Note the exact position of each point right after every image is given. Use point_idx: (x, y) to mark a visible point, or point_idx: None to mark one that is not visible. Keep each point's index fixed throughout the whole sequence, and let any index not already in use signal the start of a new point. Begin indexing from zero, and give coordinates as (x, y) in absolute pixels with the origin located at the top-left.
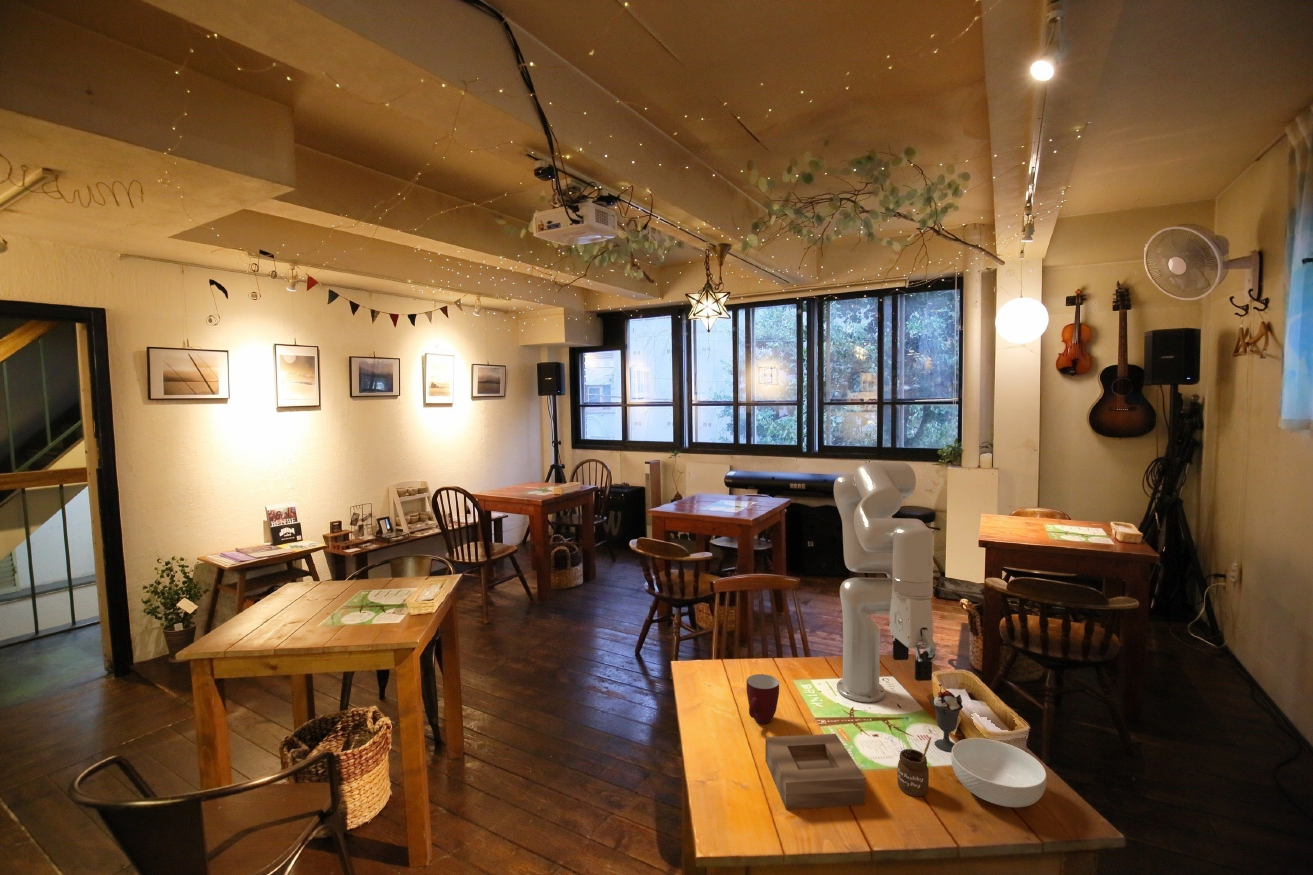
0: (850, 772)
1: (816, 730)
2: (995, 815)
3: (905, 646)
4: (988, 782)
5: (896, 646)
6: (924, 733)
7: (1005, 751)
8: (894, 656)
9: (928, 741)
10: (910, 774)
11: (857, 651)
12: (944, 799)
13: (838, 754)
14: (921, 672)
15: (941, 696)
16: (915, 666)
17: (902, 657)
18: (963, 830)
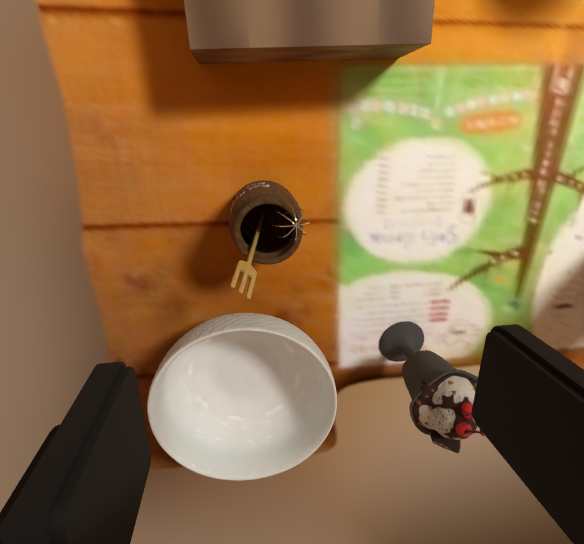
0: (218, 8)
1: (526, 46)
2: (178, 336)
3: (552, 488)
4: (164, 362)
5: (578, 418)
6: (451, 317)
7: (305, 437)
8: (511, 340)
9: (231, 281)
10: (234, 204)
11: None
12: (224, 263)
13: (316, 3)
14: (40, 454)
15: (459, 407)
16: (52, 453)
17: (488, 391)
18: (126, 258)
